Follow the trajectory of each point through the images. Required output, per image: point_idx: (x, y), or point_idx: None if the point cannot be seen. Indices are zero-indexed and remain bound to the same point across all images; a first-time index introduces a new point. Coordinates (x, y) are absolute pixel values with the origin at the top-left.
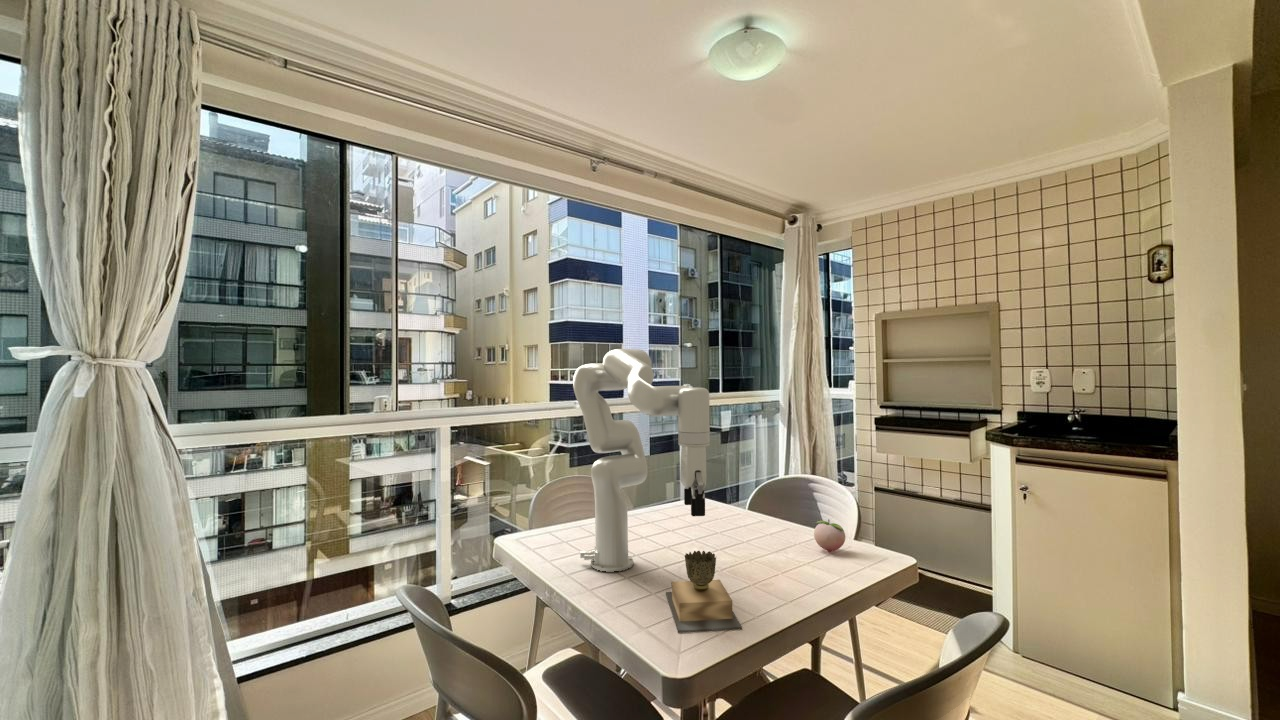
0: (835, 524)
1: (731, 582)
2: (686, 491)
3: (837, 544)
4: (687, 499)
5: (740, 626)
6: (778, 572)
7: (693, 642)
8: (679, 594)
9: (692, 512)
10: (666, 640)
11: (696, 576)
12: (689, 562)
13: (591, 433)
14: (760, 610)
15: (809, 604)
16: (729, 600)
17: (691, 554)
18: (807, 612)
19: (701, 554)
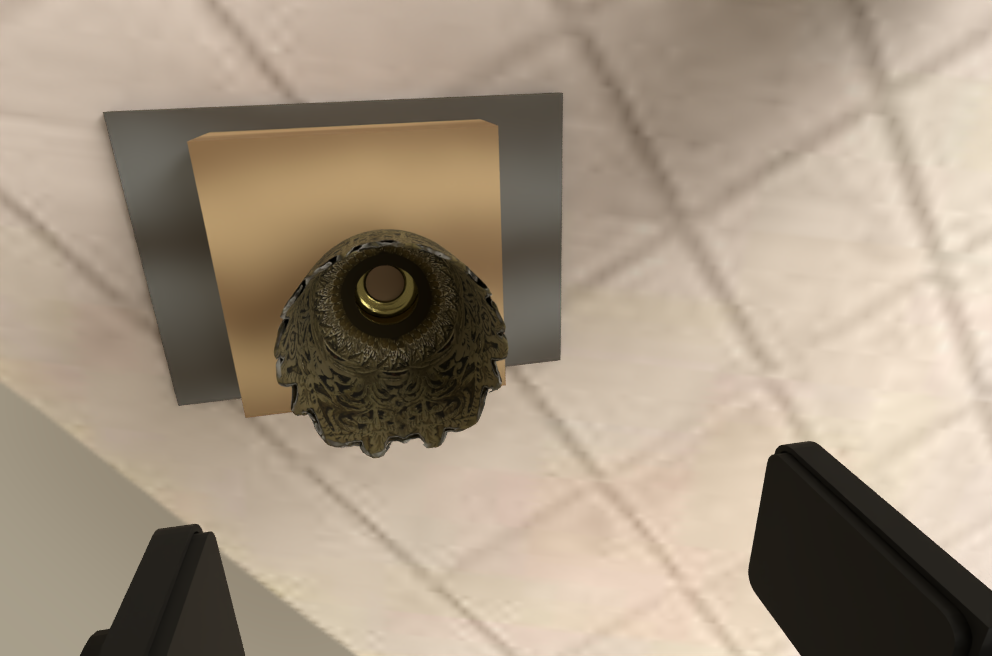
0: None
1: (638, 410)
2: (921, 619)
3: None
4: (814, 526)
5: (181, 400)
6: (695, 580)
7: (18, 178)
8: (314, 155)
9: (146, 575)
10: (14, 39)
11: (304, 284)
12: (317, 266)
13: None
14: (361, 485)
15: (409, 639)
16: (245, 405)
17: (483, 294)
18: (344, 626)
19: (495, 359)
